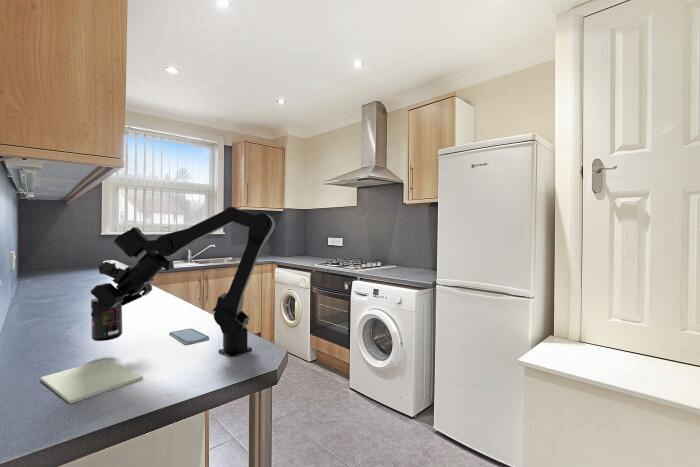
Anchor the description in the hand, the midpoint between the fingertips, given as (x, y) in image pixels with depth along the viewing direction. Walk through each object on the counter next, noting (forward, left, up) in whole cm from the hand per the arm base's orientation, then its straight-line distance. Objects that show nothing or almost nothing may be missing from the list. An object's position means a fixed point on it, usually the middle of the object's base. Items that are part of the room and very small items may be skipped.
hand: (101, 312), depth 88 cm
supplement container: (-1, -1, -7) cm, 7 cm away
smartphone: (-4, -22, -12) cm, 25 cm away
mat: (-15, +7, -11) cm, 20 cm away
